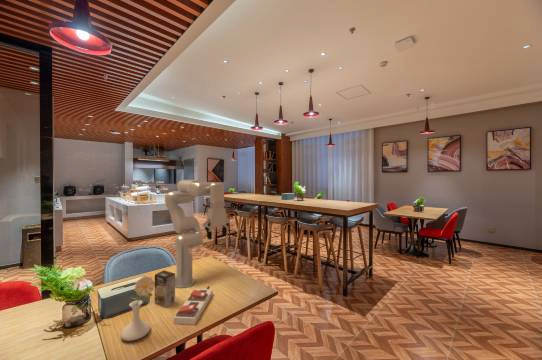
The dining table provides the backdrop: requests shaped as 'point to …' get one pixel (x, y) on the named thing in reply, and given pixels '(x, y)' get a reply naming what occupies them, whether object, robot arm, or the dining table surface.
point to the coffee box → (164, 288)
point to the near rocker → (187, 309)
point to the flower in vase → (137, 325)
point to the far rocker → (198, 294)
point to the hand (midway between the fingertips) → (217, 237)
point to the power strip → (200, 305)
